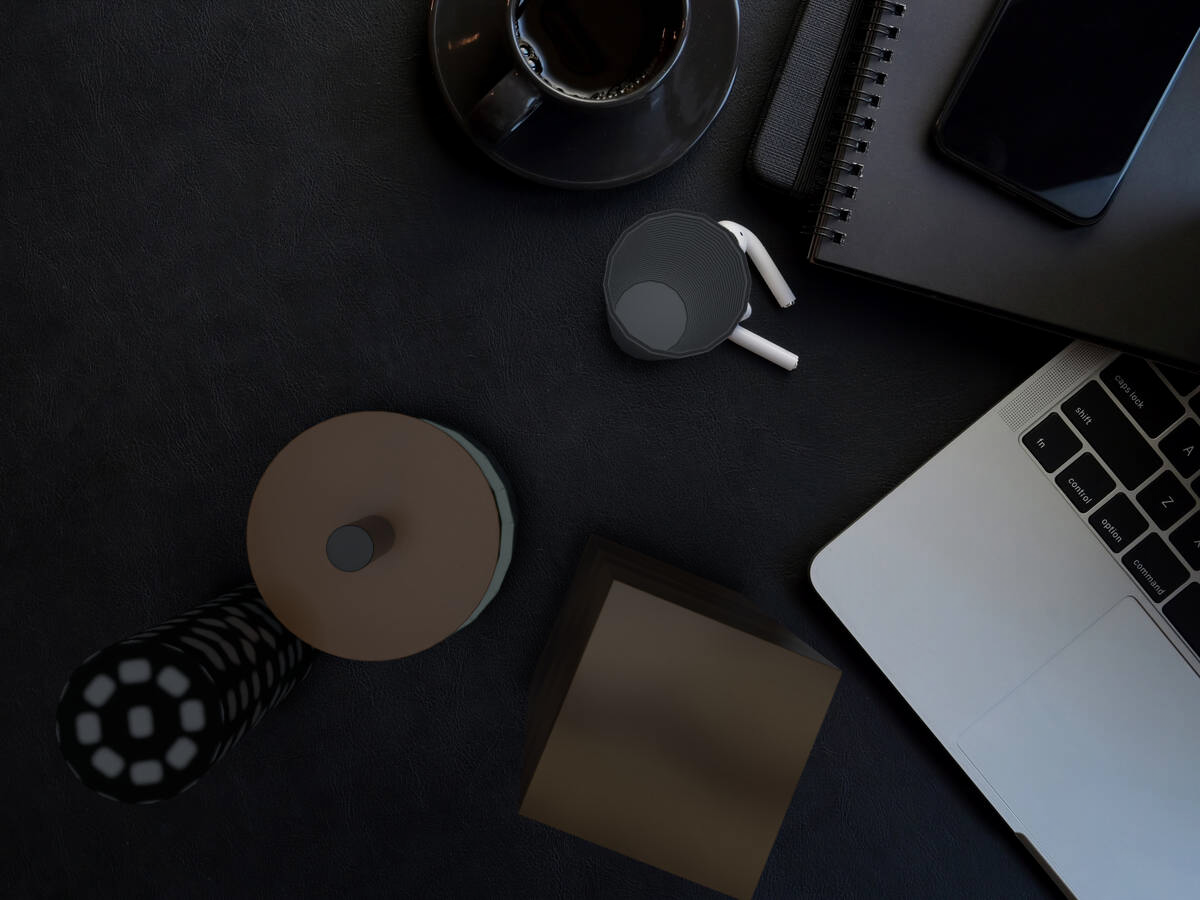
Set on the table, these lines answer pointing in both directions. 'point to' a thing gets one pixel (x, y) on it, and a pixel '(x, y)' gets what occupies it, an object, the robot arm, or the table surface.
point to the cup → (675, 286)
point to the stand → (670, 719)
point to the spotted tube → (177, 697)
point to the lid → (373, 536)
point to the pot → (504, 505)
